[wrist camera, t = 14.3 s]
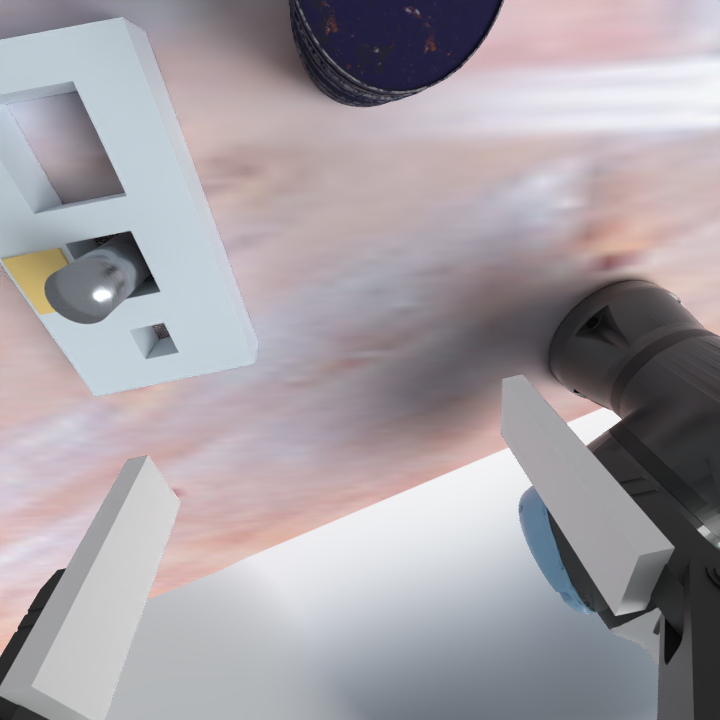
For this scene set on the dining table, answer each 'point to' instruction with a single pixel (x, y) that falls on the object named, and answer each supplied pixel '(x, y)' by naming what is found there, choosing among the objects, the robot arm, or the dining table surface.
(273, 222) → the dining table surface
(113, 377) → the block
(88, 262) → the grey rounded cylinder
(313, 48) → the storage jar
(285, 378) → the dining table surface
